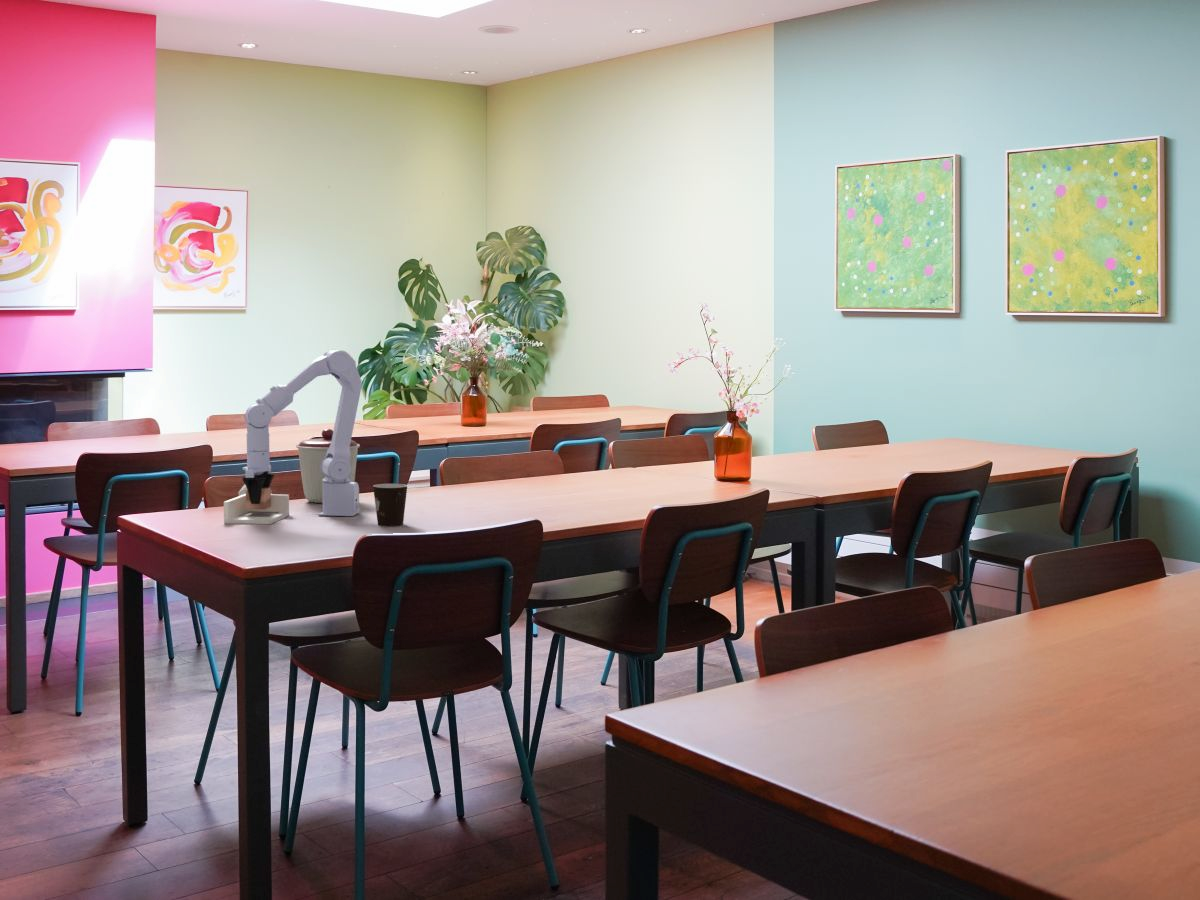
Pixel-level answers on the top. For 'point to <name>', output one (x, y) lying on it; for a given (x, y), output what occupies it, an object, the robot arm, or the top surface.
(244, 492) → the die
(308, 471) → the canister
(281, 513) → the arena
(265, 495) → the cube
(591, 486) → the top surface
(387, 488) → the coffee mug
